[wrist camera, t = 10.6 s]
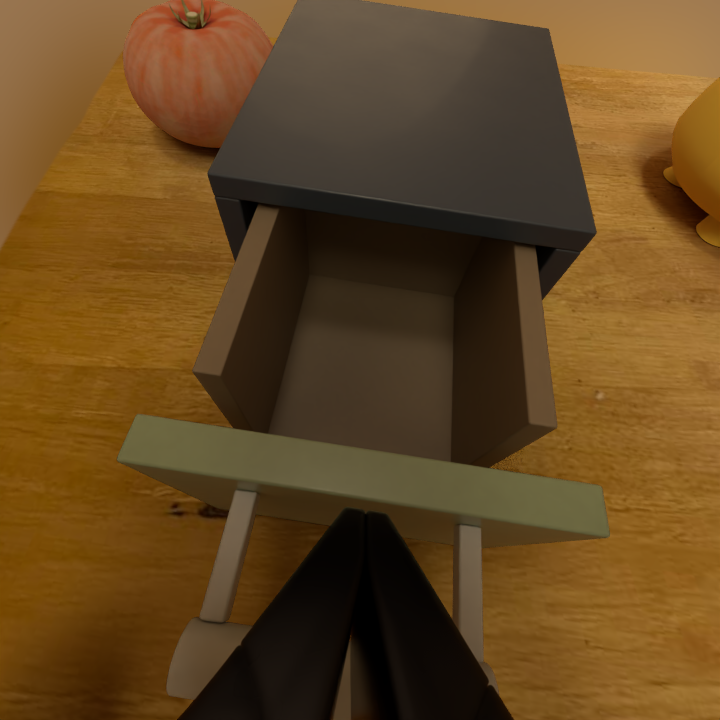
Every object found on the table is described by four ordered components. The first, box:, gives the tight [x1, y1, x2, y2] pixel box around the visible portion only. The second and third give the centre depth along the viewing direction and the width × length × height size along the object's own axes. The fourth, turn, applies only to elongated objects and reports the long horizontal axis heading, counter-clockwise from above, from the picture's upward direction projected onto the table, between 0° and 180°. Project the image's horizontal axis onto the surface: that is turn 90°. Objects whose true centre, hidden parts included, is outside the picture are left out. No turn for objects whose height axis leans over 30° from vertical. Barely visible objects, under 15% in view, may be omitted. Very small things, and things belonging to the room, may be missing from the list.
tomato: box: [123, 0, 273, 148], centre depth 27 cm, size 11×11×8 cm
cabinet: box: [208, 0, 597, 300], centre depth 20 cm, size 15×13×11 cm
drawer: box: [117, 203, 610, 720], centre depth 15 cm, size 18×12×9 cm, turn 172°
